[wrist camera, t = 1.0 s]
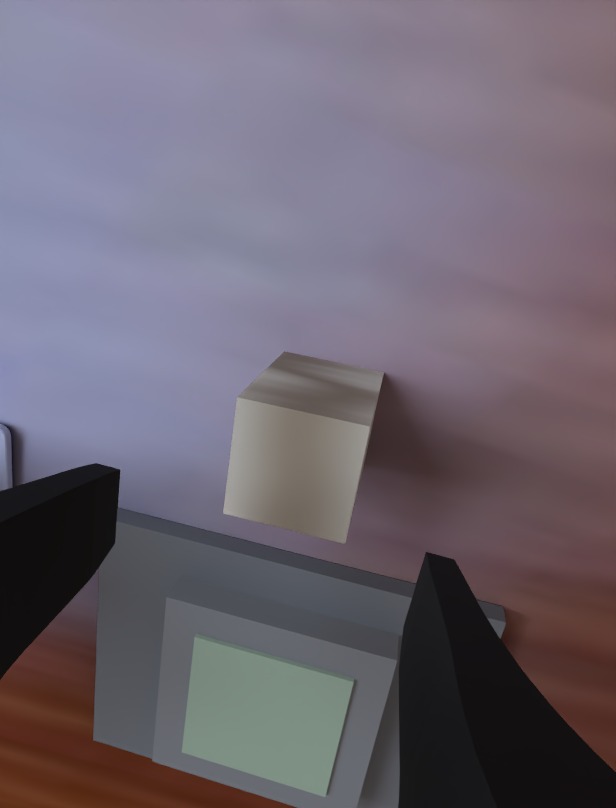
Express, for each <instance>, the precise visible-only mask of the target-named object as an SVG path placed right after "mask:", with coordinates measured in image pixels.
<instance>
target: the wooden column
mask: <svg viewBox="0 0 616 808" xmlns="http://www.w3.org/2000/svg"><path fill="white" fill-rule="evenodd" d="M383 375H384V372H380V371H375V370H370V369H365V368H361V367H356V366H351V365H346V364H341V363H337V362H332V361H327V360H322V359H317V358H313V357H308V356H303V355H298V354H293V353H289V352H283V353H282V354H281V355H280V356H279V357H278V358H277V359H276V360H275V361H274V362H273V363H272V364H271V365H270V366H269V367H268V368H267V369H266V370H265V371H264V372H263V373H262V374H261V375H260V376H259V377H258V378H257V379H256V380H255V381H254V382H252V383H251V384H250V385H249V386H248V387H247V388H246V389H245V390H244V391H243V392H242V393H241V394H240V395H239V396H238V397H237V404H236V412H235V420H234V428H233V436H232V445H231V453H230V461H229V469H228V477H227V486H226V494H225V502H224V510H223V513H224V514H228V515H232V516H236V517H240V518H244V519H248V520H251V521H255V522H259V523H263V524H267V525H271V526H275V527H279V528H283V529H287V530H291V531H295V532H299V533H303V534H307V535H311V536H315V537H319V538H323V539H327V540H331V541H335V542H339V543H343V544H345V543H346V539H347V534H348V530H349V526H350V522H351V518H352V513H353V509H354V505H355V501H356V496H357V492H358V488H359V484H360V480H361V475H362V471H363V467H364V463H365V458H366V453H367V449H368V444H369V440H370V435H371V430H372V426H373V421H374V416H375V412H376V407H377V403H378V398H379V393H380V389H381V384H382V379H383Z"/></svg>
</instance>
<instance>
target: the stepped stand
mask: <svg viewBox="0 0 616 808" xmlns="http://www.w3.org/2000/svg"><path fill="white" fill-rule="evenodd" d="M415 587H416V584H413V583H409V582H405V581H401V580H397V579H393V578H390V577H386V576H382V575H378V574H374V573H370V572H366V571H362V570H358V569H354V568H351V567H347V566H343V565H339V564H335V563H331V562H327V561H323V560H319V559H315V558H312V557H308V556H304V555H300V554H296V553H292V552H288V551H284V550H280V549H276V548H273V547H269V546H265V545H261V544H257V543H253V542H249V541H245V540H241V539H237V538H234V537H230V536H226V535H222V534H218V533H214V532H210V531H206V530H202V529H199V528H195V527H191V526H187V525H183V524H179V523H175V522H171V521H167V520H163V519H160V518H156V517H152V516H148V515H144V514H140V513H136V512H132V511H128V510H124V509H121V508H118V509H117V523H116V538H115V544H114V546H113V547H112V549H111V550H110V552H109V553H108V555H107V556H106V558H105V559H104V561H103V562H102V563H101V565H100V566H99V585H98V615H97V645H96V675H95V704H94V734H93V740H95V741H98V742H101V743H104V744H108V745H111V746H114V747H117V748H120V749H123V750H126V751H130V752H133V753H136V754H139V755H142V756H145V757H148V758H152V761H153V762H156V763H159V764H162V765H165V766H168V767H172V768H175V769H178V770H181V771H184V772H187V773H190V774H194V775H197V776H200V777H203V778H206V779H209V780H212V781H216V782H219V783H222V784H225V785H228V786H231V787H234V788H238V789H241V790H244V791H247V792H250V793H253V794H257V795H260V796H263V797H266V798H269V799H272V800H275V801H279V802H282V803H285V804H288V805H291V806H294V807H297V808H398V803H399V780H400V757H399V662H400V652H401V643H402V635H403V626H404V623H405V620H406V616H407V613H408V610H409V606H410V603H411V600H412V597H413V593H414V590H415ZM477 602H478V603H479V605H480V607H481V609H482V610H483V612H484V614H485V615H486V617H487V619H488V620H489V622H490V623H491V625H492V627H493V628H494V630H495V632H496V633H497V635H498V636H499V638H500V639H501V636H502V633H503V630H504V628H505V625H506V619H505V614H504V609H503V606H499V605H495V604H491V603H487V602H483V601H479V600H477Z"/></svg>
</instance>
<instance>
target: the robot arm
mask: <svg viewBox="0 0 616 808" xmlns="http://www.w3.org/2000/svg"><path fill="white" fill-rule="evenodd" d="M119 479H120V470H119V469H116V468H112V467H108V466H104V465H101V464H97V463H95V464H91V465H86V466H82V467H78V468H75V469H71V470H68V471H65V472H61V473H58V474H55V475H52V476H49V477H45V478H42V479H39V480H36V481H32V482H29V483H26V484H22V485H19V486H16V487H13V486H12V452H11V434H10V431H9V430H8V428H7V427H6V426H4V425H2V424H0V679H1V678H2V677H3V675H4V674H5V673H6V671H7V670H8V669H9V668H10V667H11V665H12V664H13V663H14V662H15V661H16V660H17V658H18V657H19V656H20V655H21V654H22V653H23V651H24V650H25V649H26V648H27V647H28V646H29V645H30V644H31V643H32V642H33V641H34V640H35V639H36V637H37V636H38V635H39V634H40V633H41V632H42V631H43V630H44V629H45V628H46V627H47V626H48V625H49V623H50V622H51V621H52V620H53V619H54V618H55V617H56V616H57V615H58V614H59V613H60V612H61V611H62V609H63V608H64V607H65V606H66V605H67V604H68V603H69V602H70V601H71V600H72V599H73V597H74V596H75V595H76V594H77V593H78V592H79V591H80V590H81V589H82V588H83V586H84V585H85V584H86V583H87V582H88V581H89V580H90V579H91V577H92V576H93V575H94V573H95V572H96V570H97V569H98V568H99V566H100V565H101V563H102V562H103V561H104V559H105V558H106V556H107V555H108V553H109V552H110V550H111V549H112V547H113V546H114V544H115V538H116V523H117V509H118V494H119ZM399 757H400V780H399V803H398V808H616V772H615V771H614V770H613V769H612V768H611V767H610V766H609V765H608V764H606V763H605V762H604V761H603V760H602V759H601V758H600V757H599V756H598V755H597V754H596V753H595V752H594V751H593V750H592V749H591V748H590V747H589V746H588V745H587V744H586V743H585V742H584V741H583V740H582V738H581V737H580V736H579V735H578V734H577V733H576V732H575V731H574V730H573V729H572V728H571V727H570V726H569V725H568V724H567V723H566V722H565V721H564V720H563V718H562V717H561V716H560V715H559V714H558V713H557V712H556V711H555V710H554V708H553V707H552V706H551V705H550V704H549V703H548V701H547V700H546V699H545V698H544V696H543V695H542V694H541V693H540V692H539V690H538V689H537V688H536V687H535V686H534V684H533V683H532V682H531V681H530V679H529V678H528V677H527V676H526V674H525V673H524V672H523V670H522V669H521V668H520V666H519V665H518V664H517V662H516V661H515V659H514V658H513V657H512V655H511V654H510V652H509V651H508V649H507V648H506V647H505V645H504V644H503V642H502V641H501V639H500V638H499V636H498V635H497V633H496V632H495V630H494V628H493V627H492V625H491V623H490V622H489V620H488V619H487V617H486V615H485V614H484V612H483V610H482V609H481V607H480V605H479V603H478V602H477V600H476V598H475V596H474V595H473V593H472V591H471V589H470V587H469V585H468V584H467V582H466V580H465V578H464V576H463V574H462V573H461V571H460V569H459V567H458V565H457V564H456V562H455V560H454V559H450V558H446V557H443V556H439V555H435V554H432V553H428V552H426V554H425V557H424V560H423V564H422V567H421V570H420V574H419V577H418V580H417V583H416V587H415V590H414V593H413V597H412V600H411V603H410V606H409V610H408V613H407V616H406V620H405V623H404V626H403V635H402V643H401V652H400V662H399Z"/></svg>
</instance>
